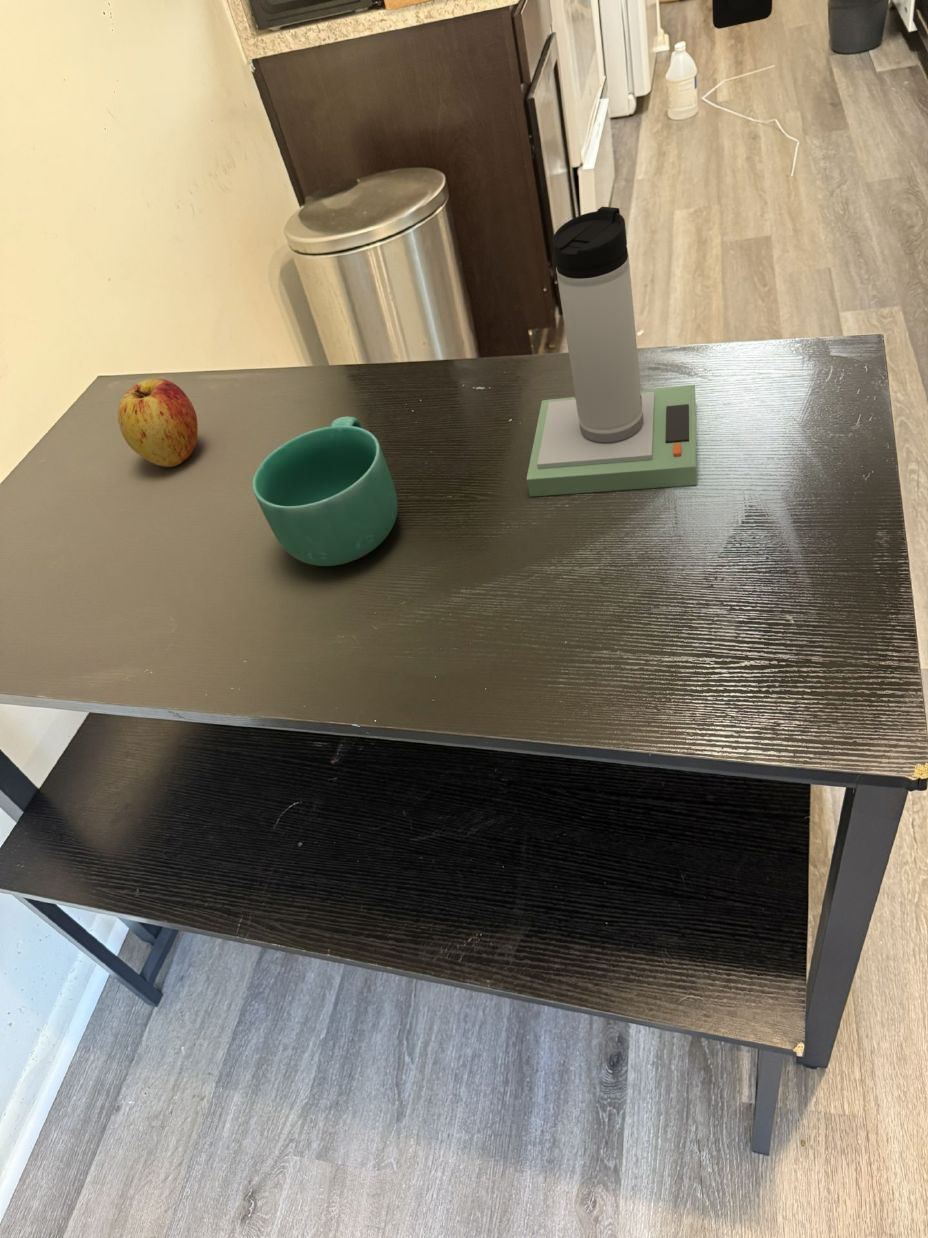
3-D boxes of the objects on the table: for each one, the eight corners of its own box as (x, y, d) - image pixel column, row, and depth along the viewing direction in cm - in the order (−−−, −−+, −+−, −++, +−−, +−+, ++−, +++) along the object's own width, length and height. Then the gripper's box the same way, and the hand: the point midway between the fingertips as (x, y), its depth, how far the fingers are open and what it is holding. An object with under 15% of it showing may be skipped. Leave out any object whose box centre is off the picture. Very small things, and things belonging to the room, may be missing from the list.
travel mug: (658, 414, 86) (642, 208, 72) (618, 450, 83) (594, 243, 69) (606, 400, 89) (583, 202, 76) (567, 434, 87) (535, 235, 73)
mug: (382, 585, 81) (351, 506, 75) (267, 582, 85) (228, 507, 79) (433, 477, 92) (410, 399, 85) (329, 478, 96) (299, 405, 90)
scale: (695, 402, 91) (694, 378, 89) (697, 485, 81) (695, 460, 79) (544, 417, 95) (540, 395, 93) (529, 497, 86) (524, 474, 84)
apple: (221, 456, 105) (184, 383, 98) (151, 489, 103) (109, 418, 96) (201, 427, 111) (165, 357, 104) (135, 458, 109) (95, 388, 102)
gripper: (843, -480, 34) (819, 24, 46) (802, -434, 46) (791, -42, 58) (650, -410, 36) (674, 55, 48) (658, -384, 48) (676, -15, 60)
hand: (738, 1), depth 53 cm, fingers open, 9 cm apart
